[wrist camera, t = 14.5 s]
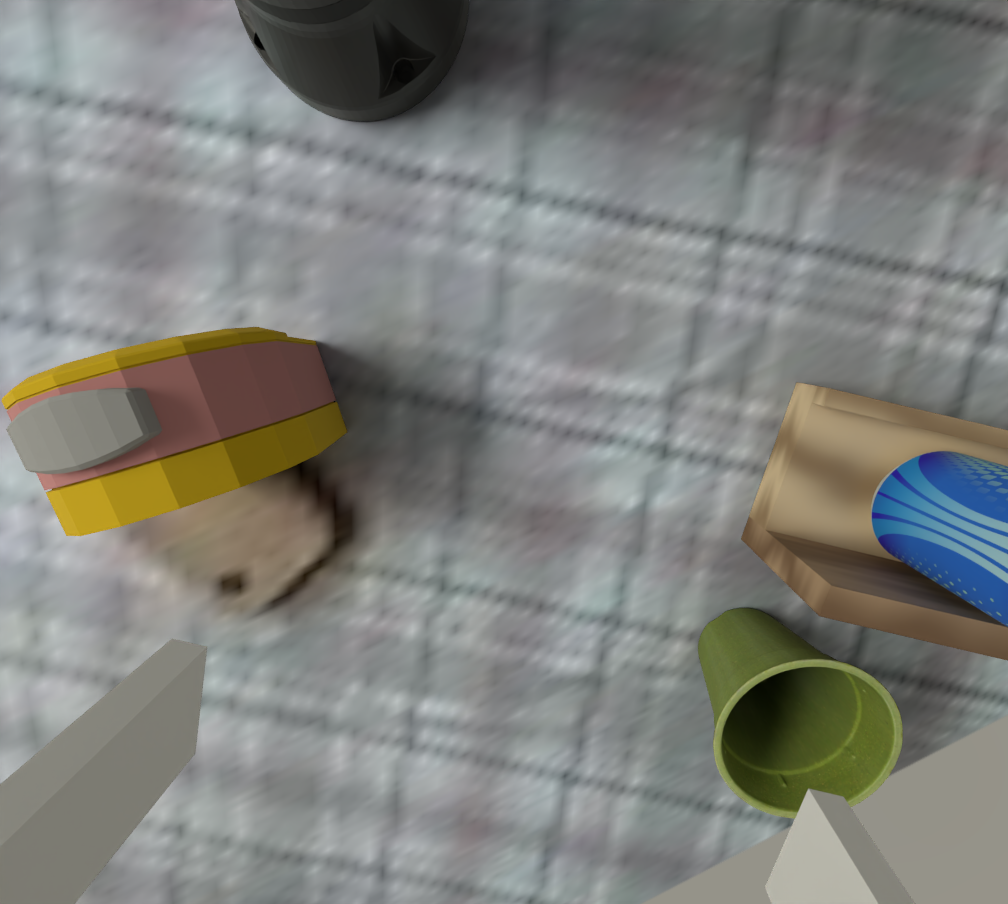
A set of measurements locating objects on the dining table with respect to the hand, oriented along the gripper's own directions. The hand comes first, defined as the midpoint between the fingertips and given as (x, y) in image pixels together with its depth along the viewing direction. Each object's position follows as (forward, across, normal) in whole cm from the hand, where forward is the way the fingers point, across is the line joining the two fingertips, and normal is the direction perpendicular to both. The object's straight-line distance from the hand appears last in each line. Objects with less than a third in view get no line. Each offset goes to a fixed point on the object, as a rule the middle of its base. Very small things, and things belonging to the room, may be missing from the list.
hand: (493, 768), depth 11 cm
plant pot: (+32, +22, -12) cm, 41 cm away
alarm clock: (+32, -21, -1) cm, 38 cm away
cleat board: (+32, +29, +3) cm, 43 cm away
